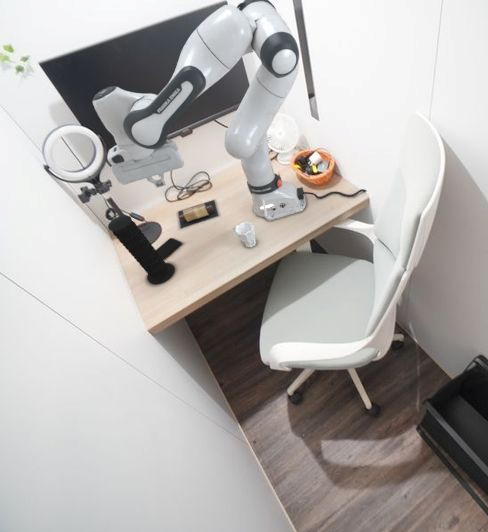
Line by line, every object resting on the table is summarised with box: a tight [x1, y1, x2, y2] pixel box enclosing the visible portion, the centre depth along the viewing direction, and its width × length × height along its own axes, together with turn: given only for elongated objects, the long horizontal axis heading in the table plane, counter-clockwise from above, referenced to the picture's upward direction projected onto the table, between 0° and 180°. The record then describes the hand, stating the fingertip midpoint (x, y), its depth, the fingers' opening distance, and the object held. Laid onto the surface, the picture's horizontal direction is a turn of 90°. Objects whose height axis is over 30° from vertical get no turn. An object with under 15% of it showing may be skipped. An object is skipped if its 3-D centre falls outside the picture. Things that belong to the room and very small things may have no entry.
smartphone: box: [155, 237, 182, 260], centre depth 124 cm, size 7×1×15 cm
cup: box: [232, 221, 257, 248], centre depth 121 cm, size 7×10×8 cm
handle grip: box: [107, 214, 176, 285], centre depth 108 cm, size 10×26×10 cm
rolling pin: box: [178, 203, 213, 222], centre depth 135 cm, size 5×14×5 cm, turn 113°
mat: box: [178, 199, 219, 229], centre depth 139 cm, size 16×12×1 cm
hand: (161, 185), depth 107 cm, fingers closed
